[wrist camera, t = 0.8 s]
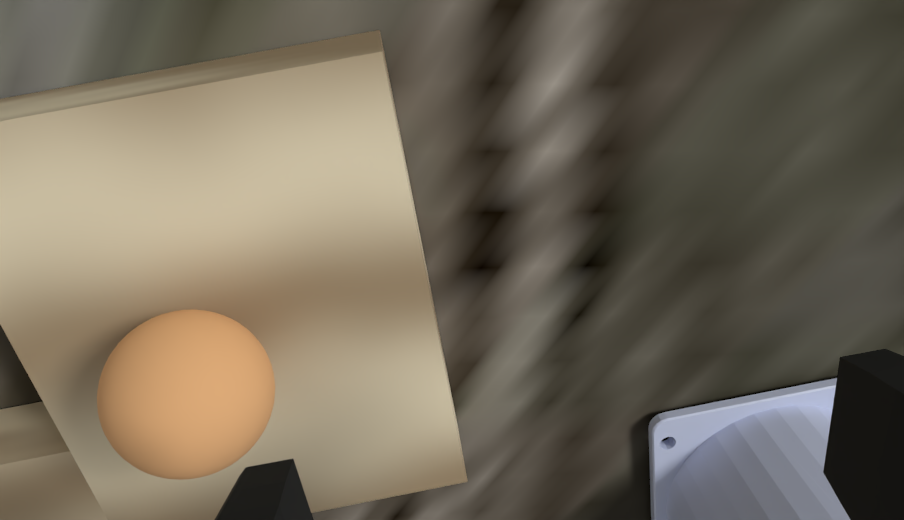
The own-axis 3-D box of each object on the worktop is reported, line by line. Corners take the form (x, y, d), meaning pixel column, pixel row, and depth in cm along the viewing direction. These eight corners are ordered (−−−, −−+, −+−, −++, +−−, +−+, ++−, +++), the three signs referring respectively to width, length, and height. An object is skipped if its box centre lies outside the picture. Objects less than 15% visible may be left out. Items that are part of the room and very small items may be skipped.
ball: (299, 389, 18) (285, 498, 15) (157, 417, 18) (112, 532, 15) (259, 266, 16) (233, 358, 13) (102, 296, 16) (37, 396, 13)
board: (457, 422, 22) (467, 481, 20) (-188, 549, 22) (-250, 624, 19) (379, 29, 16) (382, 51, 14) (-497, 189, 16) (-634, 237, 14)
